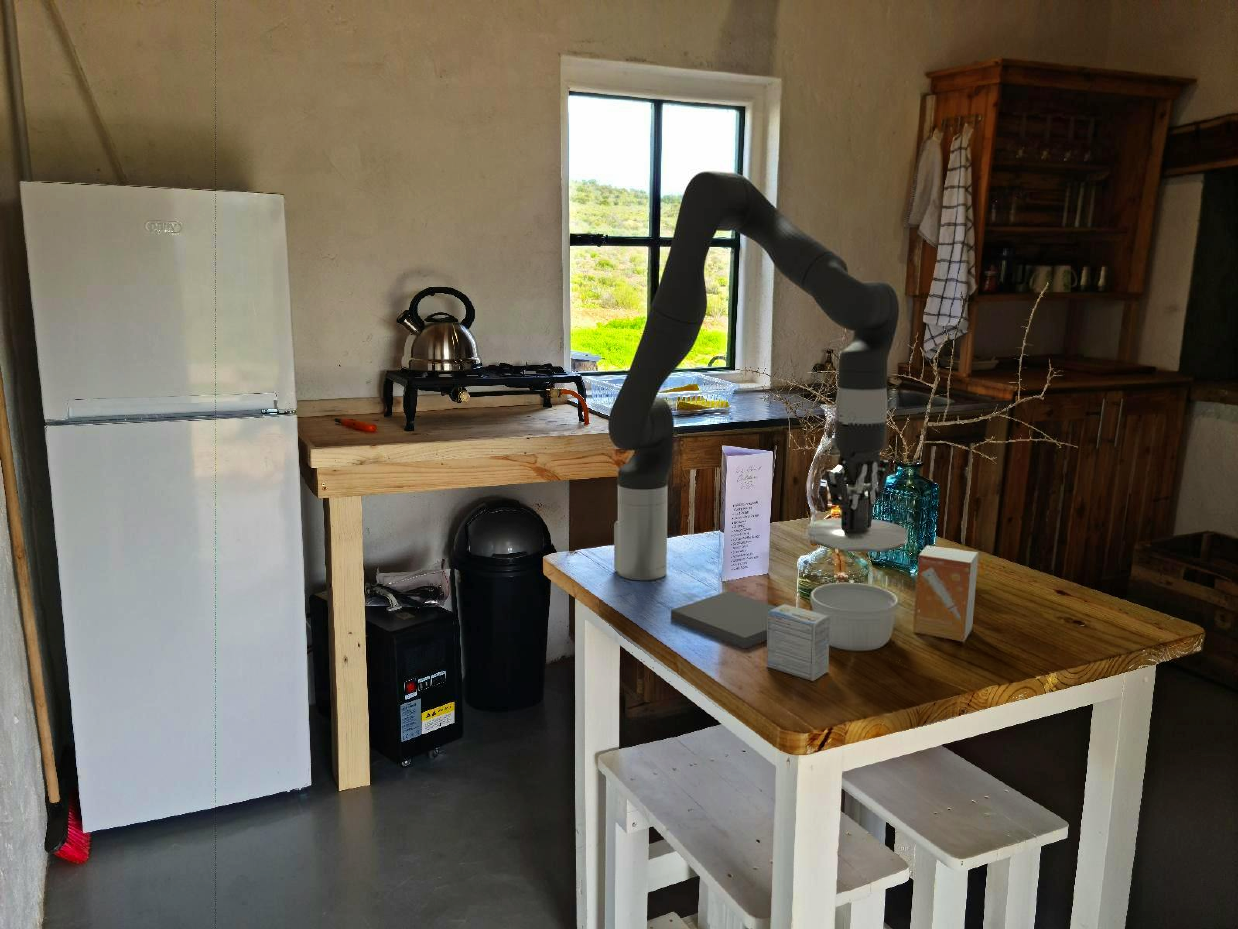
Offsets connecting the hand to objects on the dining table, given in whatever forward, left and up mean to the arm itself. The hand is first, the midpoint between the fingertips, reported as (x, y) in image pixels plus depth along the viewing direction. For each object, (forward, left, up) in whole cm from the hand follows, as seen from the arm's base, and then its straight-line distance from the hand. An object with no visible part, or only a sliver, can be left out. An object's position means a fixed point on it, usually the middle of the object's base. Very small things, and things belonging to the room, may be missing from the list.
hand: (856, 529), depth 149 cm
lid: (0, 0, -1) cm, 1 cm away
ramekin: (0, 0, -18) cm, 18 cm away
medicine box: (+2, -16, -18) cm, 24 cm away
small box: (+8, +13, -18) cm, 24 cm away
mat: (-16, -9, -18) cm, 25 cm away
